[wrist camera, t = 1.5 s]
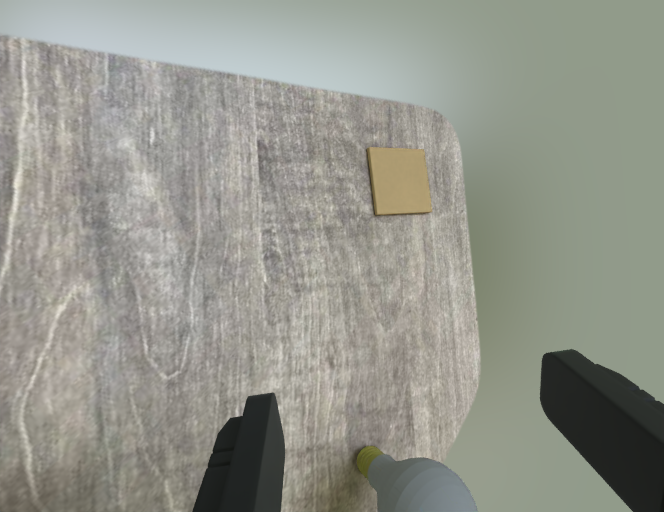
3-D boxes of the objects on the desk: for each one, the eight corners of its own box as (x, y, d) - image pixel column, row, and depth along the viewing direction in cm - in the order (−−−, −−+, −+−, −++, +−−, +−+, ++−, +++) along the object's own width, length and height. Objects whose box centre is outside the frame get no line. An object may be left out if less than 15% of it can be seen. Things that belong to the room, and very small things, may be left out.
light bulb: (381, 502, 26) (486, 617, 17) (321, 485, 25) (402, 603, 15) (405, 430, 28) (514, 501, 19) (349, 409, 26) (439, 476, 17)
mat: (375, 215, 28) (377, 214, 28) (366, 148, 29) (369, 146, 28) (429, 212, 31) (432, 211, 30) (421, 150, 31) (424, 149, 30)
